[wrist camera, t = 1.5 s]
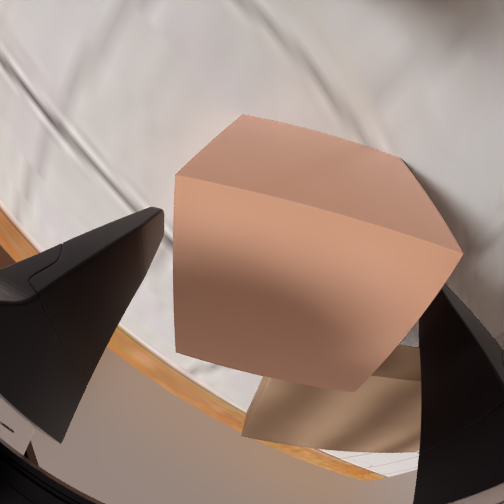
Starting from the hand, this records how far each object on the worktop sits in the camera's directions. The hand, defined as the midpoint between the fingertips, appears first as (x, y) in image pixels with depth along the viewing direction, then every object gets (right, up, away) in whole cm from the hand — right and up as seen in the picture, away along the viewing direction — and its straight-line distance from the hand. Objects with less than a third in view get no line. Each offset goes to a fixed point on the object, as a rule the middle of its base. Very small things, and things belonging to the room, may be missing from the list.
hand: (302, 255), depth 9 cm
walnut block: (+8, -11, +11) cm, 18 cm away
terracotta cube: (+1, +2, +3) cm, 4 cm away
